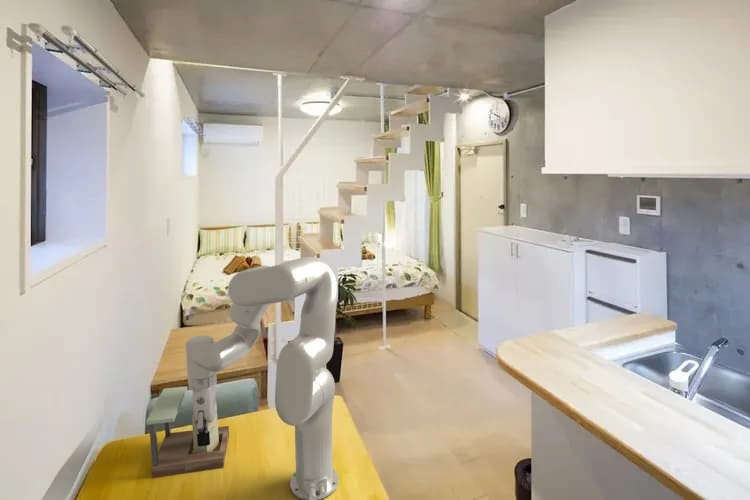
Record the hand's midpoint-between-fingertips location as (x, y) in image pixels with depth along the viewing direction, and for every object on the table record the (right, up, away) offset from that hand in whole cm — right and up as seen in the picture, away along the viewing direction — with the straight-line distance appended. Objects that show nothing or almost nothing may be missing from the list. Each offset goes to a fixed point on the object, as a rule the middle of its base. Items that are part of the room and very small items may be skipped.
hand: (206, 436), depth 121 cm
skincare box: (0, -4, +1) cm, 4 cm away
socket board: (-4, -5, 0) cm, 6 cm away
